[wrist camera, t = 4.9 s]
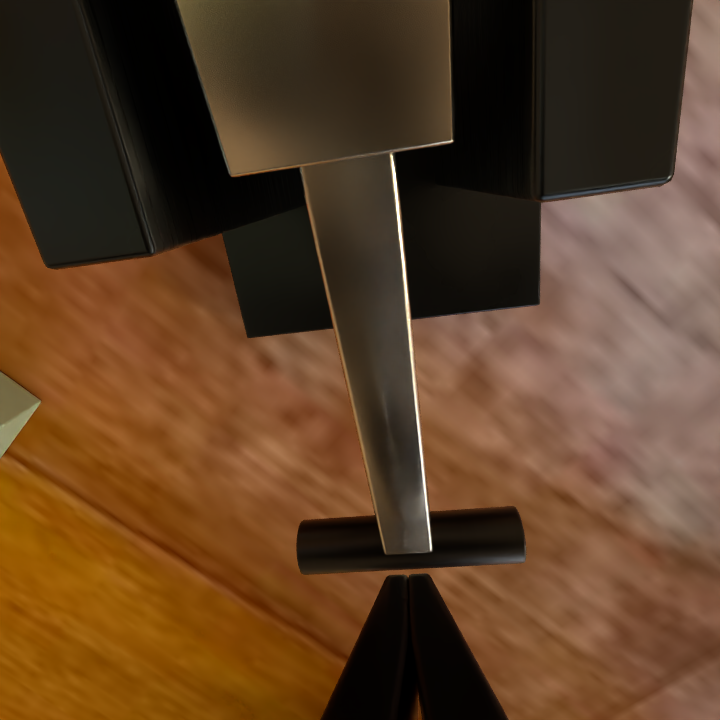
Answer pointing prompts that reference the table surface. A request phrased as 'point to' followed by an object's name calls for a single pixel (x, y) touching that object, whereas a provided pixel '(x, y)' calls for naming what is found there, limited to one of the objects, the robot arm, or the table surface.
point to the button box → (13, 410)
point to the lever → (353, 231)
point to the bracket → (283, 188)
